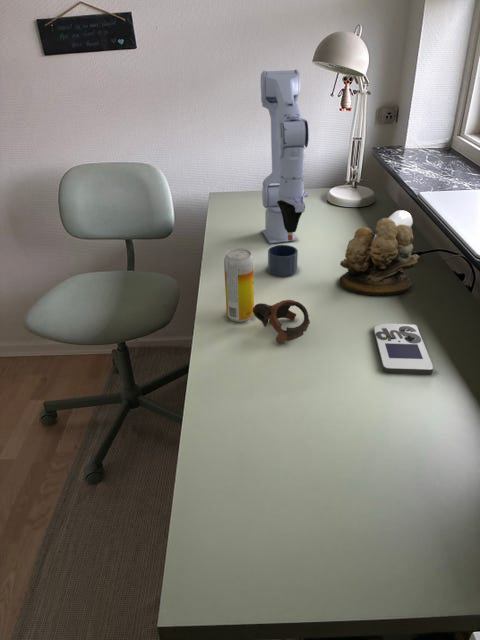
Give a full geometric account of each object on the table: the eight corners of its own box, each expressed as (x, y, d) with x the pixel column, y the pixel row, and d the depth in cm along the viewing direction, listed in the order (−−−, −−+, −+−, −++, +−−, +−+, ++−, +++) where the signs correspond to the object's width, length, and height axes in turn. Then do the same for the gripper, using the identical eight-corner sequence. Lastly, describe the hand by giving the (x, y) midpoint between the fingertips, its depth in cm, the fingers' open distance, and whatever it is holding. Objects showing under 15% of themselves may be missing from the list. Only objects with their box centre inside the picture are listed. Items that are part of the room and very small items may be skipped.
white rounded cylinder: (381, 257, 135) (400, 235, 145) (399, 244, 130) (418, 223, 140) (365, 238, 135) (385, 218, 145) (383, 225, 130) (402, 205, 140)
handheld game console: (383, 373, 89) (384, 367, 89) (372, 328, 102) (372, 322, 101) (433, 374, 89) (434, 368, 88) (415, 329, 101) (416, 323, 100)
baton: (287, 238, 123) (287, 208, 118) (291, 238, 123) (292, 207, 118) (288, 240, 122) (289, 209, 117) (293, 240, 122) (294, 209, 117)
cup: (265, 265, 128) (265, 246, 125) (292, 262, 129) (292, 243, 126) (272, 278, 122) (272, 258, 119) (300, 275, 123) (301, 255, 120)
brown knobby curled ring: (307, 320, 106) (316, 301, 99) (297, 358, 101) (306, 341, 94) (254, 304, 106) (260, 284, 99) (243, 341, 102) (247, 323, 95)
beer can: (258, 311, 109) (257, 250, 101) (247, 325, 104) (245, 262, 96) (233, 306, 111) (231, 245, 103) (222, 319, 106) (218, 257, 98)
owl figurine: (408, 273, 122) (419, 207, 113) (420, 296, 112) (434, 226, 103) (336, 273, 123) (341, 208, 114) (342, 296, 113) (349, 227, 104)
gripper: (318, 183, 108) (315, 239, 115) (298, 166, 120) (296, 218, 127) (288, 186, 107) (286, 243, 114) (271, 168, 119) (270, 221, 126)
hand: (290, 230), depth 121 cm, fingers closed on baton, 1 cm apart
